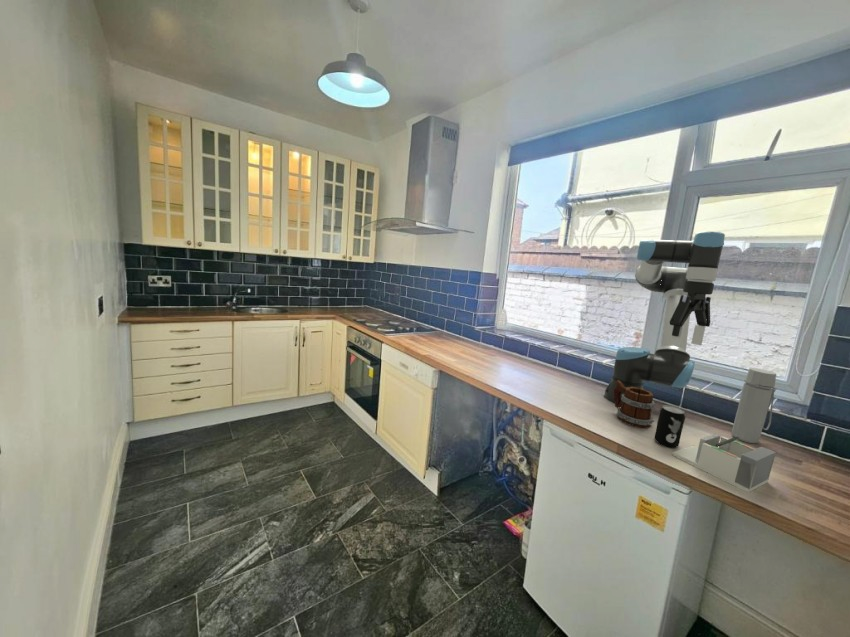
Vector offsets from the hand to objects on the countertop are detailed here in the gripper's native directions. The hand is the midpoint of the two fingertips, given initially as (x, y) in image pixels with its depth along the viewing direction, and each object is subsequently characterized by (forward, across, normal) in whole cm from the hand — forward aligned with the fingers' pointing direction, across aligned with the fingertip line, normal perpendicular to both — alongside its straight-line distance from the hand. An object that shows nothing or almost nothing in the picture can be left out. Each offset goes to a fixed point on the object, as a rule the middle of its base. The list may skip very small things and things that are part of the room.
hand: (685, 345), depth 112 cm
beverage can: (+32, +8, +4) cm, 33 cm away
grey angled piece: (+31, +8, +18) cm, 36 cm away
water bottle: (+32, -26, +13) cm, 43 cm away
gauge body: (+32, +8, +18) cm, 37 cm away
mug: (+32, +2, -12) cm, 34 cm away
